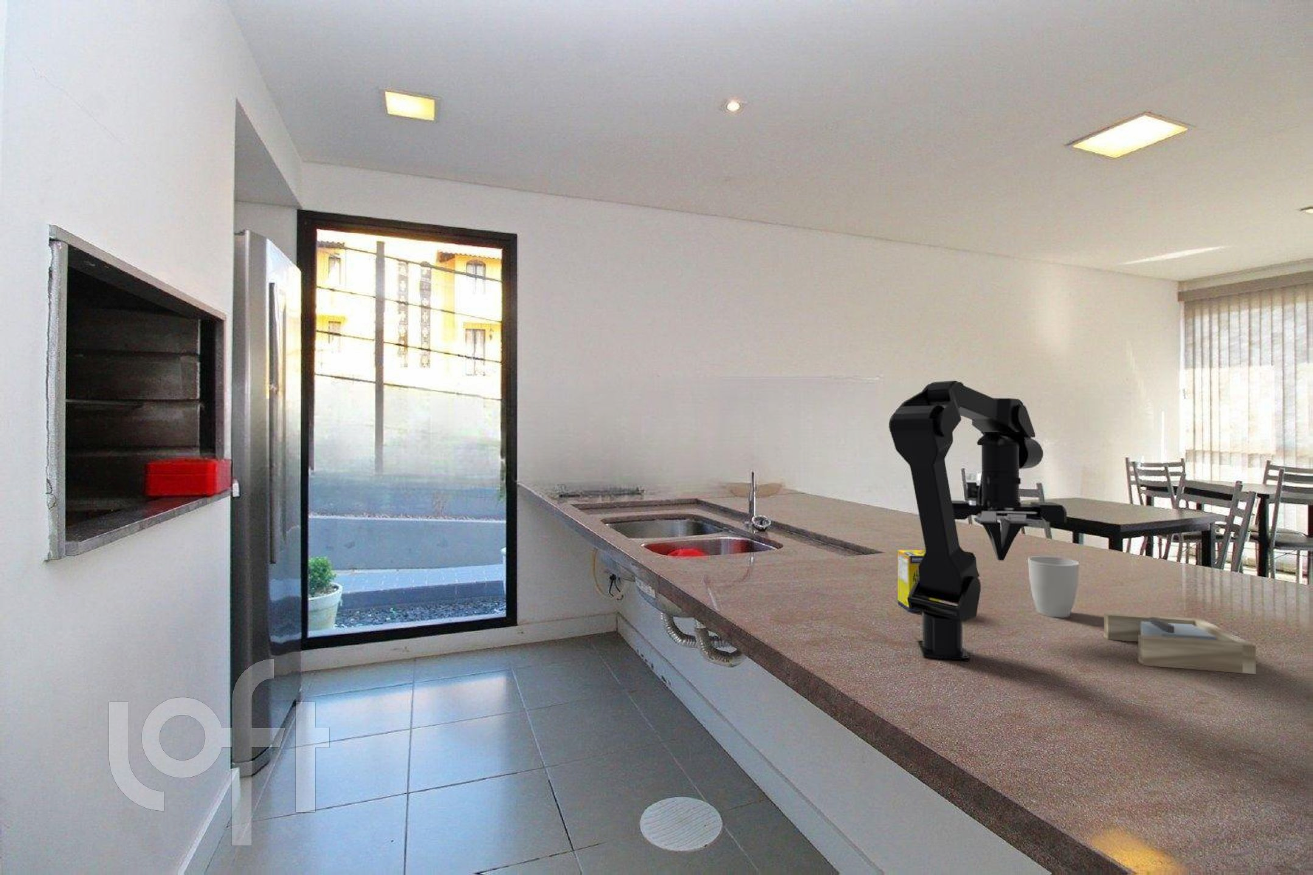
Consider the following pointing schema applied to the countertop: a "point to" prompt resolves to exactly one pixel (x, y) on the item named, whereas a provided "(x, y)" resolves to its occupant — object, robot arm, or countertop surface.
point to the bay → (1183, 645)
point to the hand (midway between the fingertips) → (1000, 560)
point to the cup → (1053, 584)
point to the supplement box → (908, 574)
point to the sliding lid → (1173, 630)
